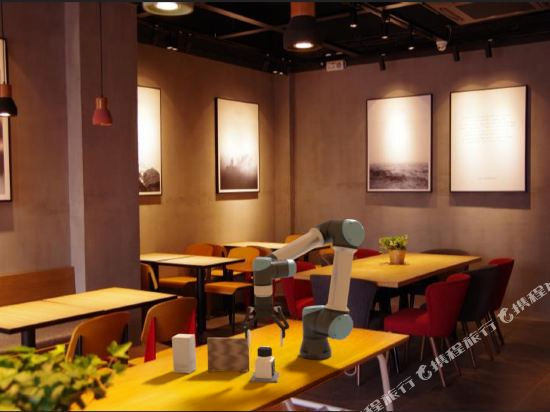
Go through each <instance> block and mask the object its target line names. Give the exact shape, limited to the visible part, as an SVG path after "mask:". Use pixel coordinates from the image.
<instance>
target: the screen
mask: <svg viewBox="0 0 550 412" xmlns="http://www.w3.org/2000/svg"><path fill="white" fill-rule="evenodd" d="M206 340H207V347H206V348H207V349H206V350H207V372H208V373H216V372H217V371H218V372H219V371H221V372H222V371H223V372H224V371H225V372H229V371H231V372H240V373H248V372H249V371H250V347H248V339H246V338H245V337H207V339H206Z"/></svg>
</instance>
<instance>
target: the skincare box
mask: <svg viewBox="0 0 550 412" xmlns="http://www.w3.org/2000/svg"><path fill="white" fill-rule="evenodd" d="M195 337H196V336H195V334H191V333H190V334H189V333H188V334H187V333H178V334H176V335H174V336H172V337H171V343H172V347H171V348H172V361H173V362H172V365H173V366H172V367H173V373H176V374H177V373H179V374H180V373H181V374H191V373H193V372H195V371H196V370H197V358H196V357H197V356H196V352H197V351H196V338H195Z"/></svg>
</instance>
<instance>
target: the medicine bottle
mask: <svg viewBox="0 0 550 412" xmlns="http://www.w3.org/2000/svg"><path fill="white" fill-rule="evenodd" d="M256 350H257V358H256V359H255V361H254V372H255V378H264V379H272V378H273V376H274V374H275V372H276V359H275V356H273V348H272V347H270V346H267V345H265V346H264V345H263V346H259V347H258V348H257V349H256Z"/></svg>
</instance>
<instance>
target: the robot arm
mask: <svg viewBox="0 0 550 412" xmlns="http://www.w3.org/2000/svg"><path fill="white" fill-rule="evenodd" d="M365 234H366V232H365V229H364V227H363V225H362V223H361V222H360V221H358V220H356V219H349V218H347V219H346V218H331V219H328V220H325V221H323V222H321V223H318V224H317V225H315V226H313V227H312V228H310V229H309V230H308V232H307V233H304V235H302V236H299V237H298V238H296V239H295V240H292V241H290V242H289V243H287V244H285V245H283V246H281V247H279V248H278V249H276V250H275V251H273V252H271V253H269V254H267V255H265V256H257V257H255V258H254V259H253V261H252V271H253V288H254V289H253V290H254V291H253V293H254V307H252V306H248V307H247V310H246V314H245V316H244V319H243V321H242V323H241V325H240V327H239V329H240V330H241V331H244V338H246V339H248V347H249V348H250V347H251V345H252V344H251V342H252V341H251V329H250V328H251V327H252V325H253V324H254V322H255V321H257V319H258V318H260V319H263V318H265V319H268V318H270V319H271V320H272V321H273V322H274V323H275V324H276V325H277V326H278V327H279V328H280V329H279V334H280V335H279V338H280V347H281V348H282V347H283V346H284V339H285V338H286V331H287V330H289V329H290V324H289V322H288V321H287V319H286V317H285V315H284V313H283V311H282V307H281V305H278V306H274V296H273V280H277V279H284V278H290V277H293V276H295V274H296V273H297V264H296V262H295V259H297V258H299V257H301V256H302V255H304V254H306V253H308V252H310V251H312V250H313V249H315V248H316V247H320V248H321V247H323V246H325V245H329V244H331V245H332V246H331V247H332V249H333V250H334V255H333V261H332V263H333V264H332V268H331V277H330V278H331V279H330V285H329V292H328V298H327V299H328V300H327V303H326V304H325V305H322V304H321V305H311V306H310V305H309V306H306V307H303V309H302V315H301V317H302V341H301V344H300V347H299V357H300V358H302V359H307V360H323V359H328V358H331V356H332V353H333V351H332V347H331V345H330V342H329V339H331V340H337V341H341V340H344V339H347V338H348V336H350V335H351V334H352V331H353V329H354V320H353V319H352V317H351V316H350V309H349V308H348V306H347V305H348V298H349V292H350V284H351V277H352V269H353V263H354V262H353V261H354V254H355V253H357V252H358V250H359V248H358V247H359V246H360V245H362V243H363V242H364V240H365V238H366V235H365ZM253 311H254V312H255V315H254V317H253V318H252V319H251V320H250V321H249V323H248V324H247V322H248V320H249V316H250V315H251V313H253ZM274 311H275V312H276V313H278V316H279V317H280V320H281V321H282V322H281V321H280V320H279V319H278V318H277V317H276V315H275V314H274ZM246 324H247V325H246Z"/></svg>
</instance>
